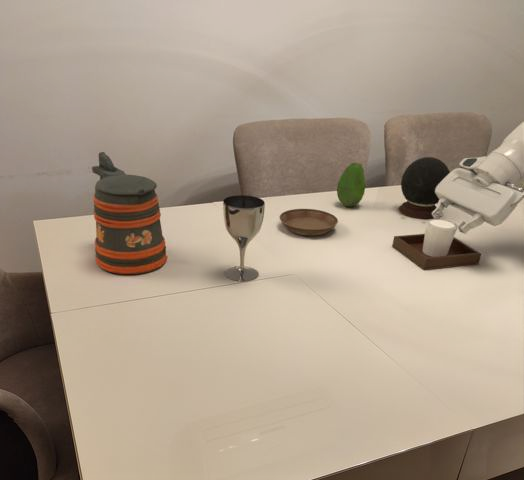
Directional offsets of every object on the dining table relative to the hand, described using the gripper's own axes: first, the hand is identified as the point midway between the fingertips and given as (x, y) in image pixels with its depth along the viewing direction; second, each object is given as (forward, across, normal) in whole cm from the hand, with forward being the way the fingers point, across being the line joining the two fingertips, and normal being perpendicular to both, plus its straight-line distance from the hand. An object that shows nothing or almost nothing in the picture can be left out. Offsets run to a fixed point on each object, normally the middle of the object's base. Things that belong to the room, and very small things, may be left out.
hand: (447, 223), depth 113 cm
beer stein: (+54, +16, +44) cm, 72 cm away
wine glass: (+39, +2, +28) cm, 49 cm away
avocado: (+8, +38, -3) cm, 39 cm away
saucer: (+22, +24, +11) cm, 34 cm away
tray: (+6, +1, -5) cm, 8 cm away
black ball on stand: (-5, +28, -15) cm, 32 cm away
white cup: (+6, +1, -4) cm, 7 cm away
